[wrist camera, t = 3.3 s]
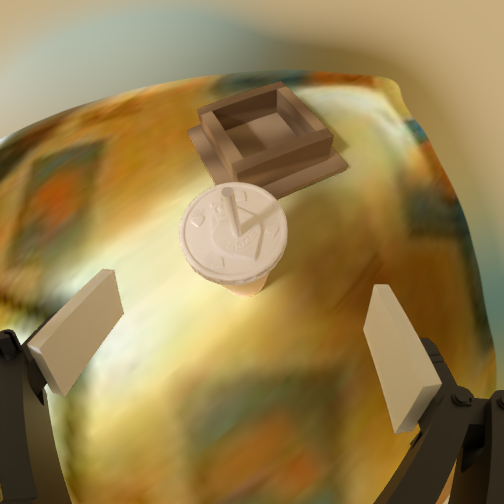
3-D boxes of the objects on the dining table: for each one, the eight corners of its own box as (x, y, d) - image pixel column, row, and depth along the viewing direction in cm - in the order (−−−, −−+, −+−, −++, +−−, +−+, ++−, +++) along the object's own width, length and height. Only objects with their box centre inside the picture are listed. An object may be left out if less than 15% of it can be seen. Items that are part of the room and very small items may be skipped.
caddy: (188, 134, 32) (179, 107, 28) (284, 99, 34) (285, 72, 30) (233, 219, 28) (227, 193, 24) (345, 169, 29) (355, 142, 25)
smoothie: (232, 327, 24) (190, 280, 11) (195, 266, 26) (134, 173, 13) (296, 286, 25) (324, 200, 12) (256, 230, 27) (245, 115, 14)
